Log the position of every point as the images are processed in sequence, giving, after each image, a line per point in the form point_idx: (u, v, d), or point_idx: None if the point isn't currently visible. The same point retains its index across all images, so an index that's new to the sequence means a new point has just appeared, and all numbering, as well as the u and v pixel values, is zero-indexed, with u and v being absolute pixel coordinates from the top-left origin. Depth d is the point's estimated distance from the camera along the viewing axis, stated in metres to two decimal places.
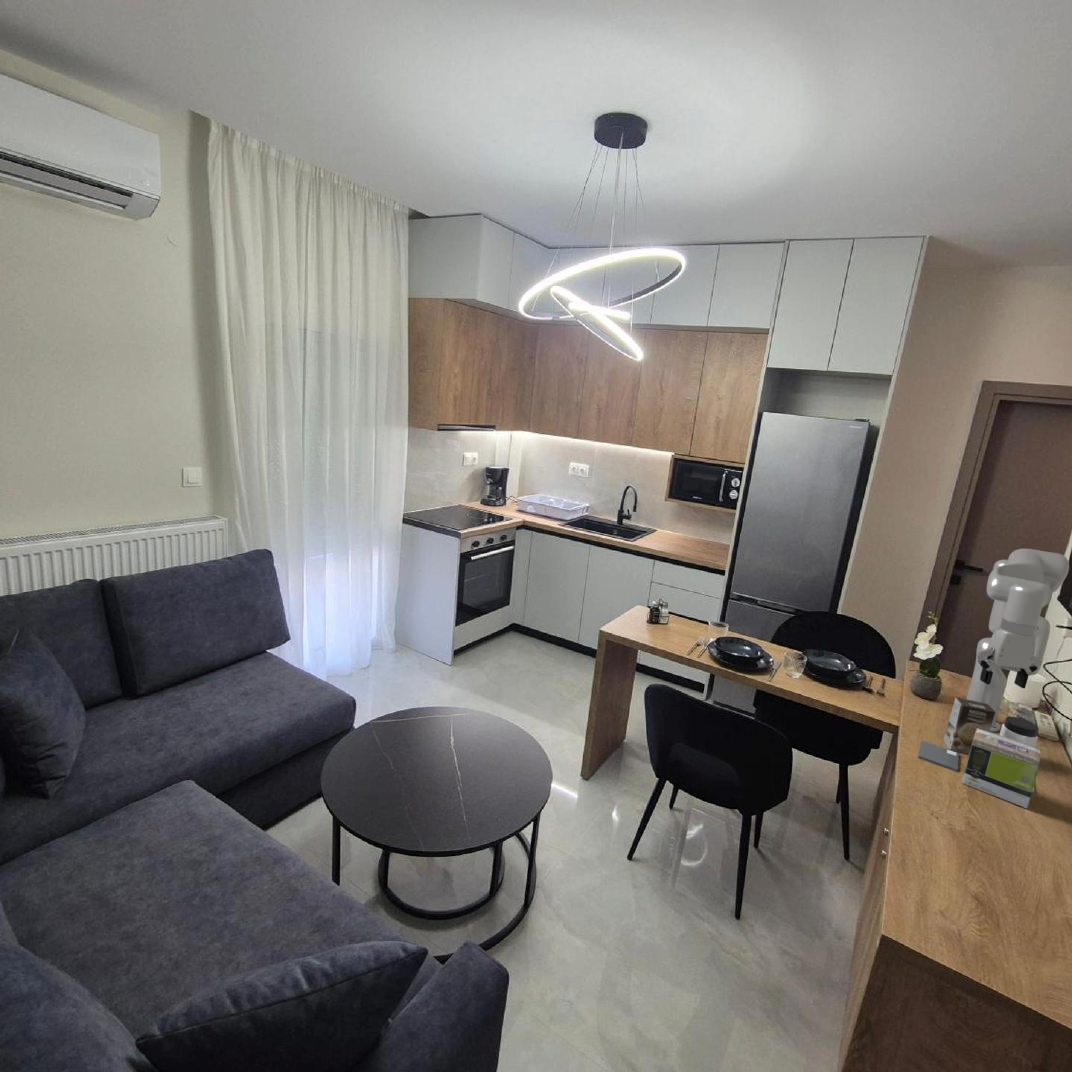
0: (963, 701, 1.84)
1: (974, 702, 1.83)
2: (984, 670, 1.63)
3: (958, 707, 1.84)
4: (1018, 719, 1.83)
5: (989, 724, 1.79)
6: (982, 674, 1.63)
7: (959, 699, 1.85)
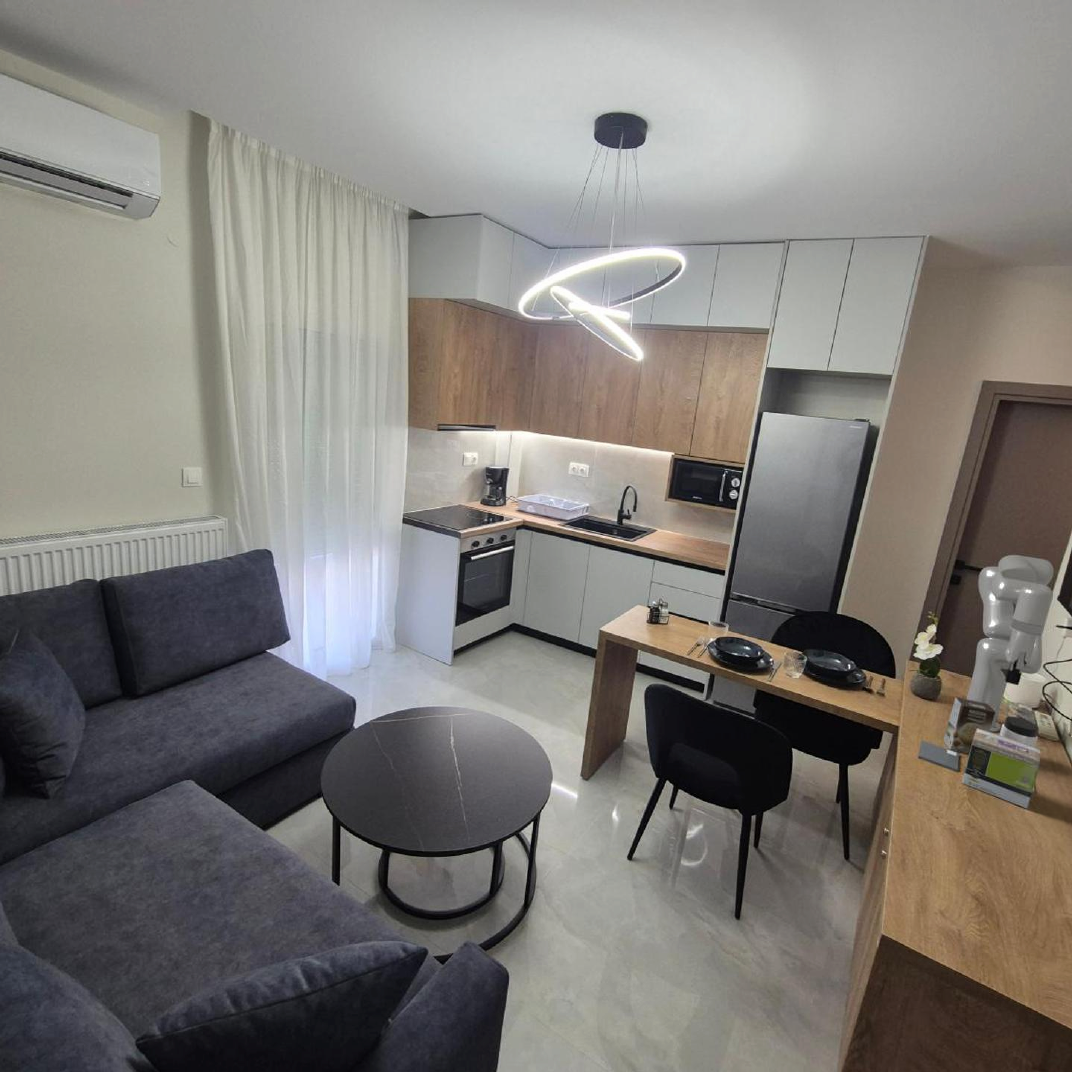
0: (963, 701, 1.84)
1: (974, 702, 1.83)
2: (1015, 673, 1.75)
3: (958, 707, 1.84)
4: (1018, 719, 1.83)
5: (989, 724, 1.79)
6: (1012, 677, 1.76)
7: (959, 699, 1.85)
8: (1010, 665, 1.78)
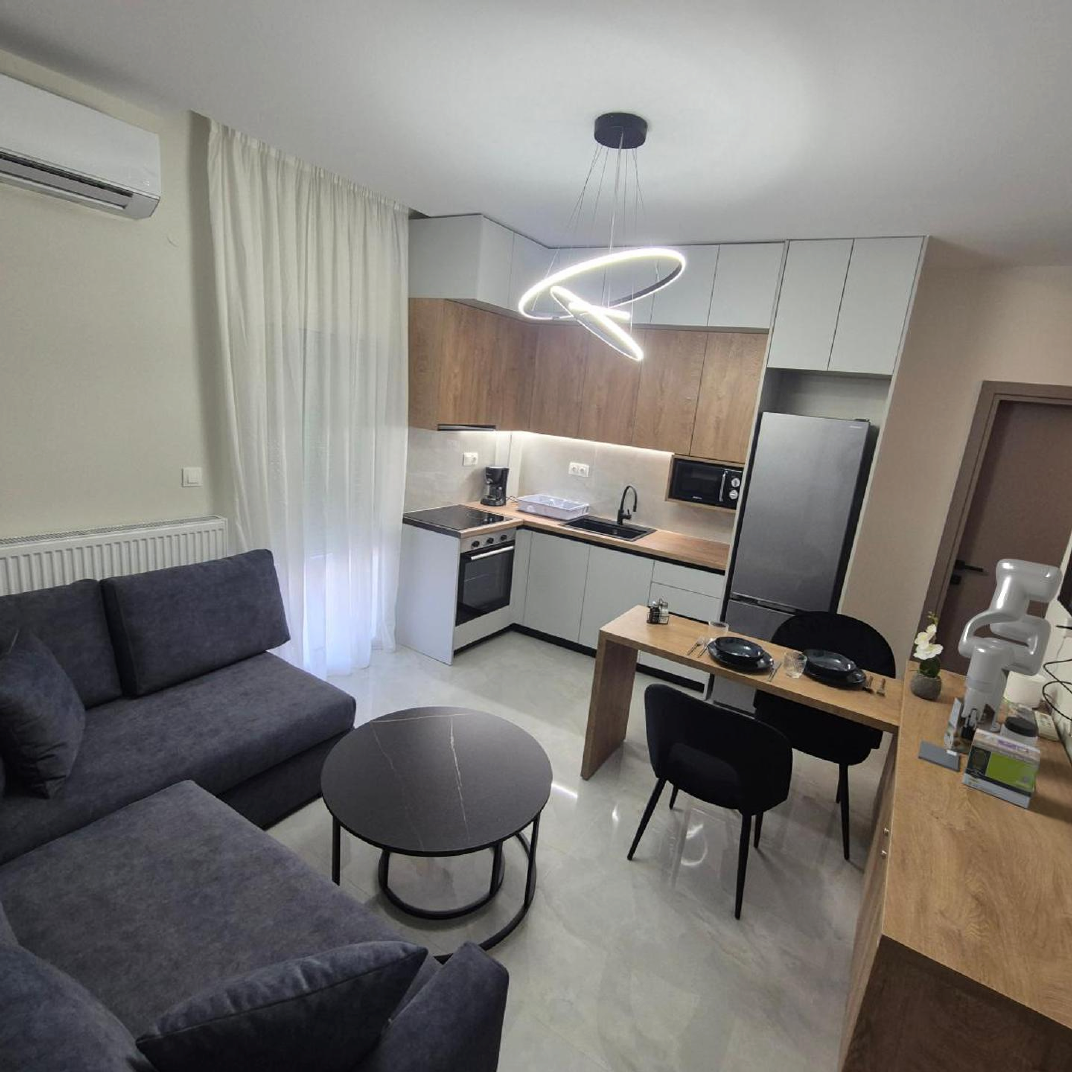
0: (963, 701, 1.83)
1: None
2: (969, 730, 1.80)
3: (958, 707, 1.84)
4: (1018, 719, 1.83)
5: (989, 724, 1.79)
6: (967, 733, 1.80)
7: (959, 699, 1.85)
8: None
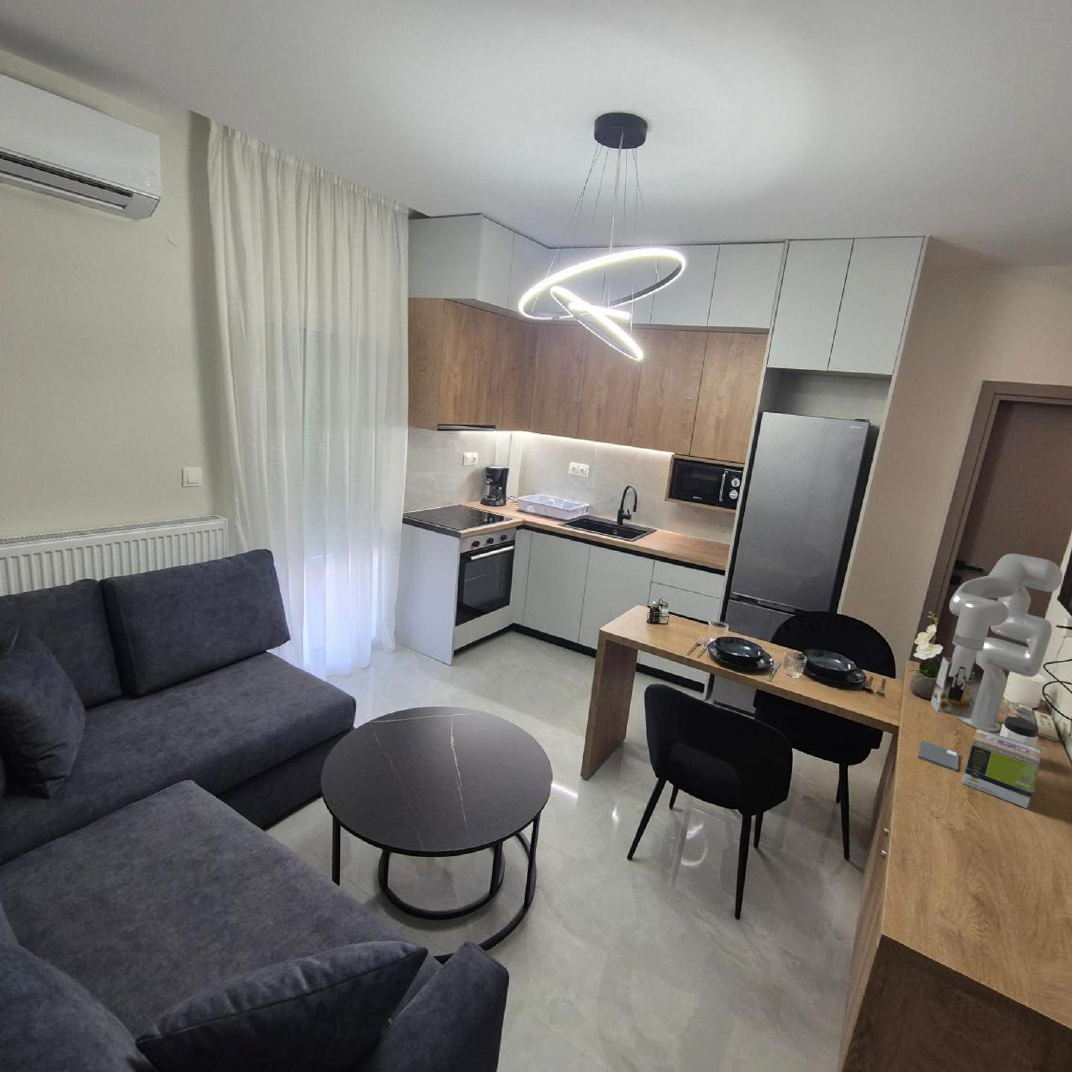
0: (951, 660, 1.74)
1: None
2: (957, 690, 1.70)
3: (945, 666, 1.74)
4: (1018, 719, 1.83)
5: (978, 683, 1.70)
6: (954, 693, 1.71)
7: (947, 658, 1.76)
8: None
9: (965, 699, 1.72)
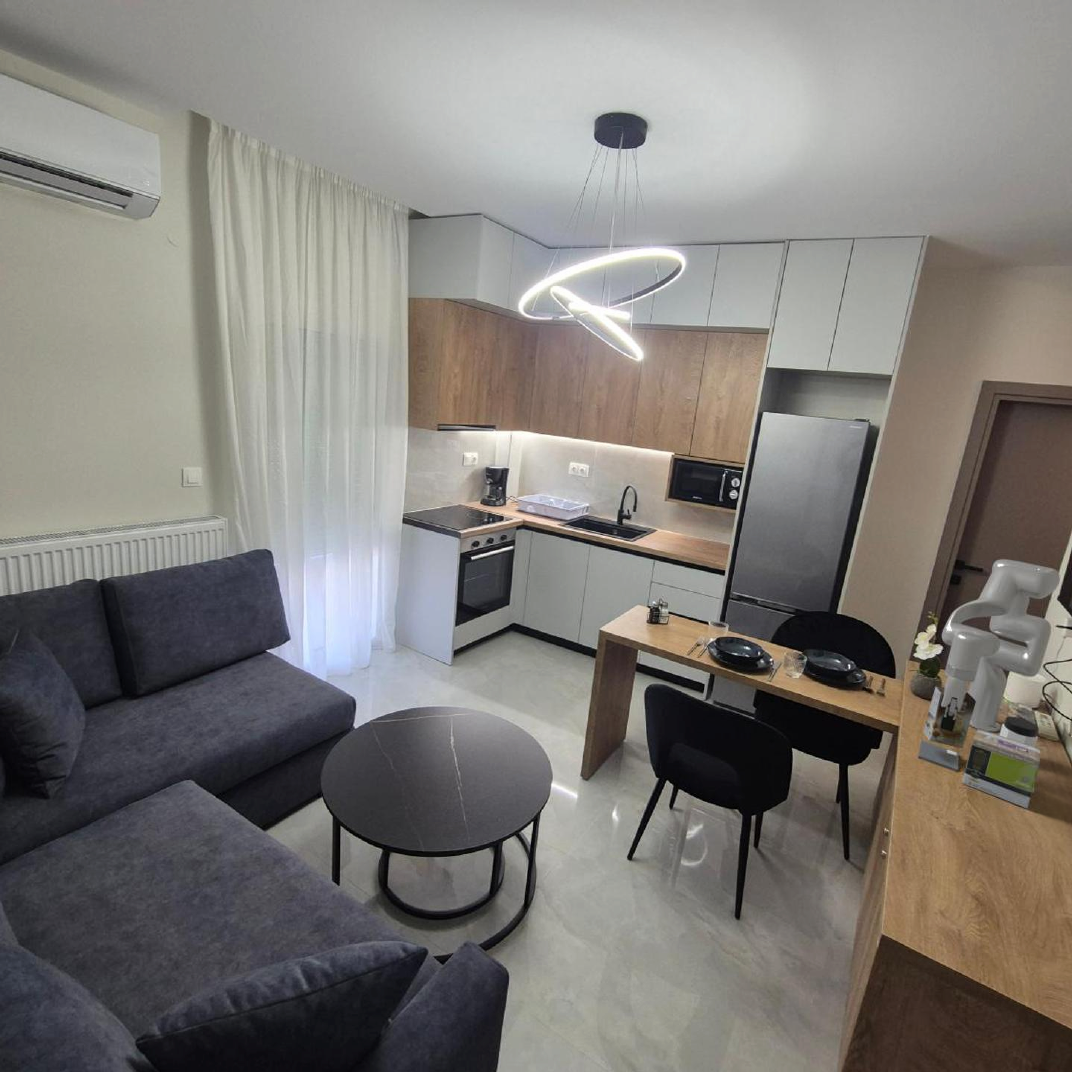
0: (943, 690, 1.76)
1: None
2: (949, 720, 1.73)
3: (937, 696, 1.76)
4: (1018, 719, 1.83)
5: (969, 714, 1.72)
6: (946, 724, 1.73)
7: (939, 688, 1.78)
8: None
9: (957, 729, 1.74)
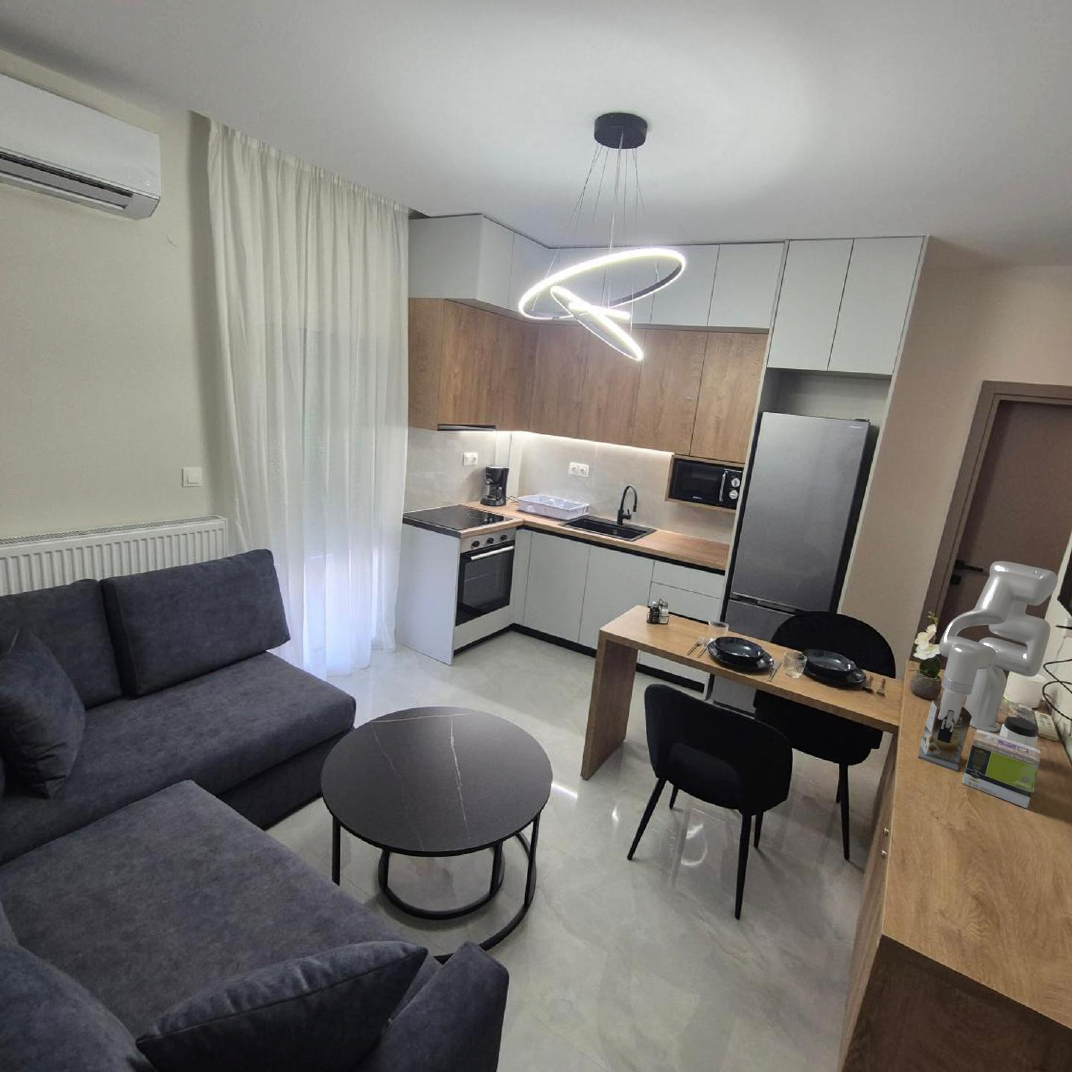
0: (939, 705, 1.77)
1: None
2: (946, 732, 1.73)
3: (934, 710, 1.78)
4: (1018, 719, 1.83)
5: (965, 729, 1.73)
6: (943, 735, 1.73)
7: (935, 702, 1.79)
8: None
9: (953, 743, 1.75)
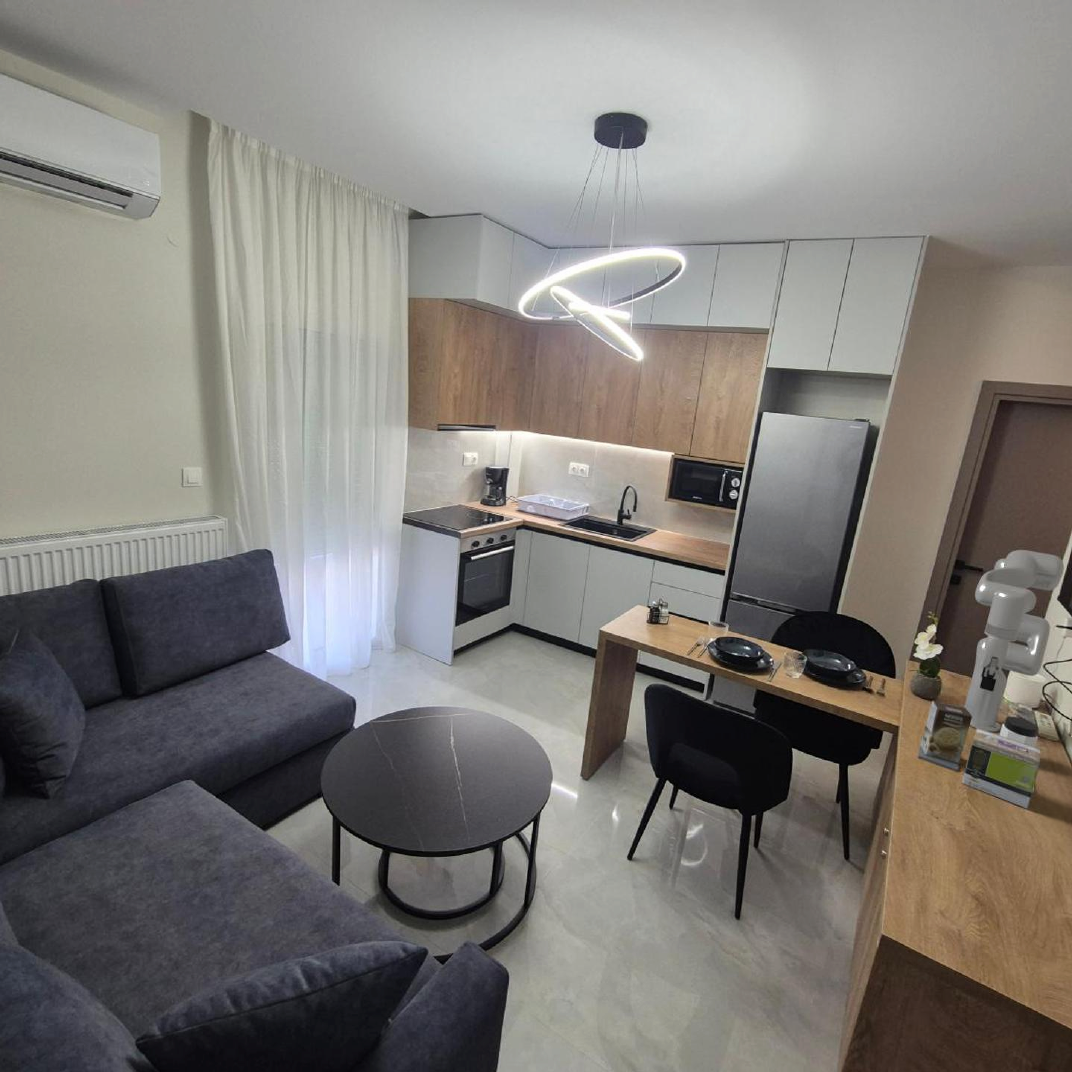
0: (940, 705, 1.77)
1: (951, 706, 1.77)
2: (989, 679, 1.68)
3: (934, 710, 1.77)
4: (1018, 719, 1.83)
5: (965, 729, 1.73)
6: (987, 683, 1.68)
7: (936, 703, 1.79)
8: None
9: (953, 743, 1.75)
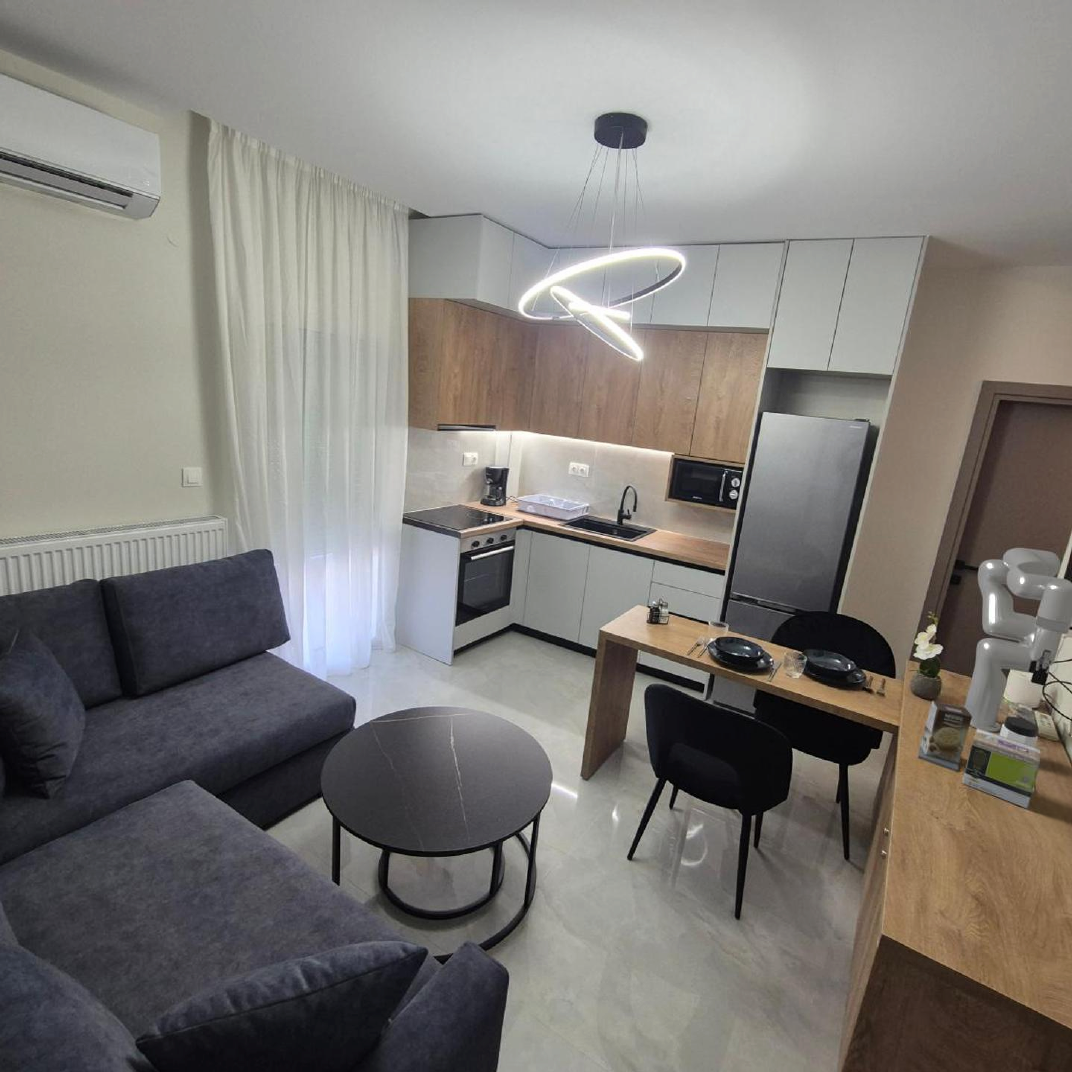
0: (940, 705, 1.77)
1: (951, 706, 1.77)
2: (1041, 673, 1.65)
3: (934, 710, 1.77)
4: (1018, 719, 1.83)
5: (965, 729, 1.73)
6: (1039, 677, 1.65)
7: (936, 703, 1.79)
8: None
9: (953, 743, 1.75)
